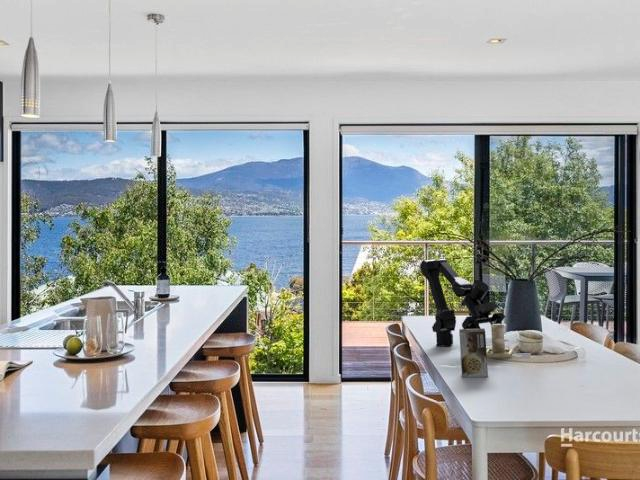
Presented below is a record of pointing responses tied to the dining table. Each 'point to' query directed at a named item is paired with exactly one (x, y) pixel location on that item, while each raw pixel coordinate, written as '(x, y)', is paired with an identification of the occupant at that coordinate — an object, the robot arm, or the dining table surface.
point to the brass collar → (502, 355)
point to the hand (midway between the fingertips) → (494, 337)
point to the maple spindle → (498, 338)
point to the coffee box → (473, 352)
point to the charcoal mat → (524, 356)
